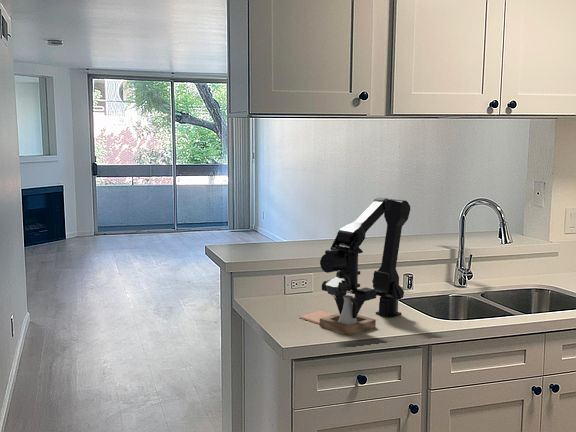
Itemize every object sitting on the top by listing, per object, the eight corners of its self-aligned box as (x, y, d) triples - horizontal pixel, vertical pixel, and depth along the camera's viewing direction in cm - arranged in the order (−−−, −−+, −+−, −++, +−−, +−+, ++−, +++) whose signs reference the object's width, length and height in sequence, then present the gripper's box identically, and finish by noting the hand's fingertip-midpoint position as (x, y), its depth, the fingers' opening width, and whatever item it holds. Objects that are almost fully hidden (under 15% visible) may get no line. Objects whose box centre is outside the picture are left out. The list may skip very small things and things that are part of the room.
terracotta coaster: (320, 312, 212) (320, 310, 212) (341, 318, 204) (341, 317, 204) (299, 317, 205) (299, 316, 205) (320, 324, 198) (320, 322, 198)
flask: (357, 323, 200) (357, 293, 198) (360, 330, 193) (361, 299, 191) (335, 323, 199) (335, 293, 198) (337, 330, 192) (338, 299, 191)
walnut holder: (346, 318, 205) (346, 311, 204) (375, 327, 196) (375, 319, 195) (319, 326, 196) (319, 318, 196) (349, 335, 187) (349, 327, 187)
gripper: (309, 266, 195) (309, 314, 197) (354, 277, 181) (353, 328, 183) (333, 262, 202) (333, 308, 204) (378, 271, 189) (376, 320, 191)
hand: (347, 316), depth 196 cm, fingers closed on flask, 5 cm apart
